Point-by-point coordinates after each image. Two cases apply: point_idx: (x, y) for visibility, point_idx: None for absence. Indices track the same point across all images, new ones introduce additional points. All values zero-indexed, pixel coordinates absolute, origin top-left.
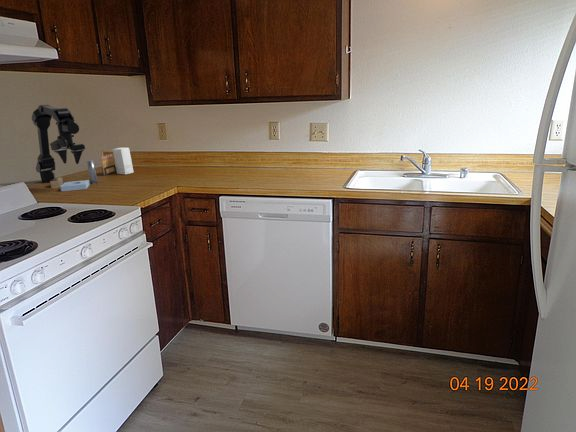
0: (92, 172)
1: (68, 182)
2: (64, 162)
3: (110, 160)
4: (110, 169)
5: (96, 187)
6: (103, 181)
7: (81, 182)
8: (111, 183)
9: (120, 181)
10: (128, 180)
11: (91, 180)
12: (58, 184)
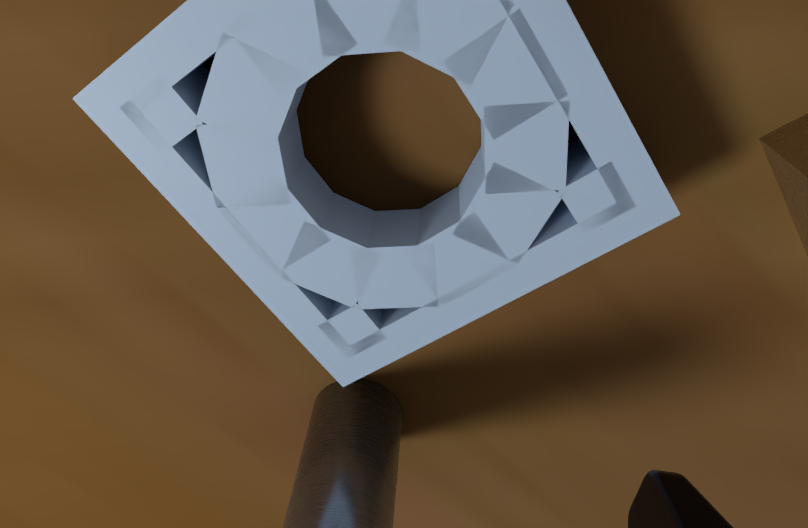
0: (291, 522)
1: (584, 205)
2: (658, 501)
3: None
4: None
5: (49, 185)
6: None
7: (302, 220)
8: (79, 401)
9: (71, 485)
10: (24, 523)
11: (348, 412)
12: (794, 152)
